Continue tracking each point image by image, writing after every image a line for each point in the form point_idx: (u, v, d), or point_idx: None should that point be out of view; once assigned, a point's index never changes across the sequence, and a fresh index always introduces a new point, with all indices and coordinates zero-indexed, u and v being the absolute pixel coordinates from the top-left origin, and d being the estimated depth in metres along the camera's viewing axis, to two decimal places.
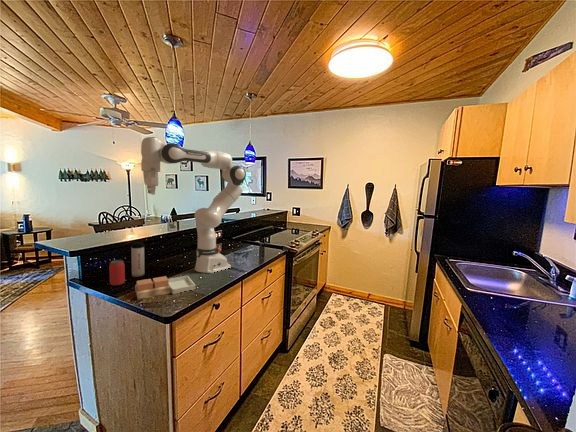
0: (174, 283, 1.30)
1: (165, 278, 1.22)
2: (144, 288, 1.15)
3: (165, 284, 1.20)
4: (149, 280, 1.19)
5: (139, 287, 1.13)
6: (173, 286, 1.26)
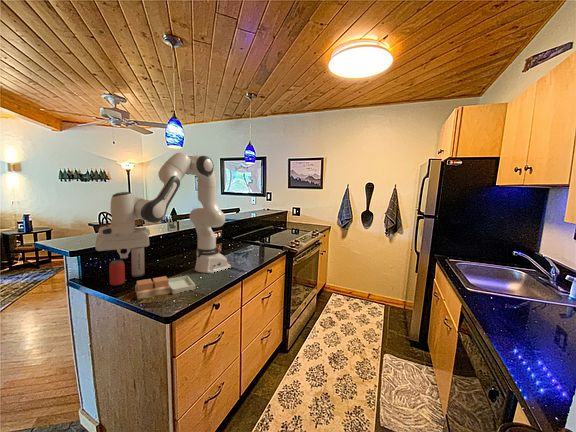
0: (174, 283, 1.30)
1: (165, 278, 1.22)
2: (144, 288, 1.15)
3: (165, 284, 1.20)
4: (149, 280, 1.19)
5: (139, 287, 1.13)
6: (173, 286, 1.26)
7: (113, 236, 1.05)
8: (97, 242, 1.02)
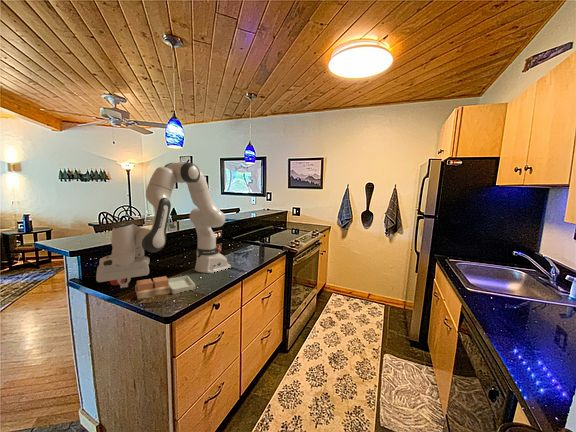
0: (174, 283, 1.30)
1: (165, 278, 1.22)
2: (144, 288, 1.15)
3: (165, 284, 1.20)
4: (149, 280, 1.19)
5: (139, 287, 1.13)
6: (173, 286, 1.26)
7: (114, 267, 1.07)
8: (98, 274, 1.04)
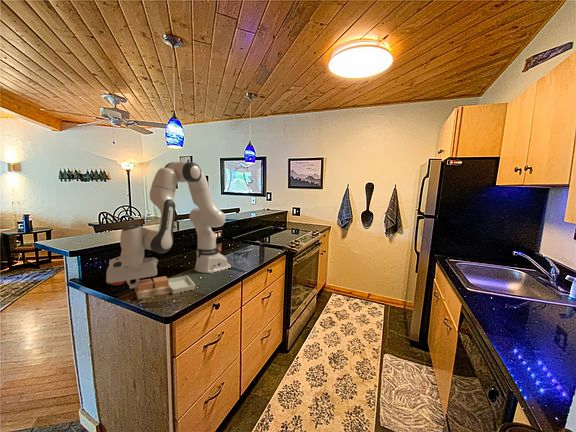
0: (174, 283, 1.30)
1: (165, 278, 1.22)
2: (144, 288, 1.15)
3: (165, 284, 1.20)
4: (149, 280, 1.19)
5: (139, 287, 1.13)
6: (173, 286, 1.26)
7: (123, 268, 1.09)
8: (108, 275, 1.06)
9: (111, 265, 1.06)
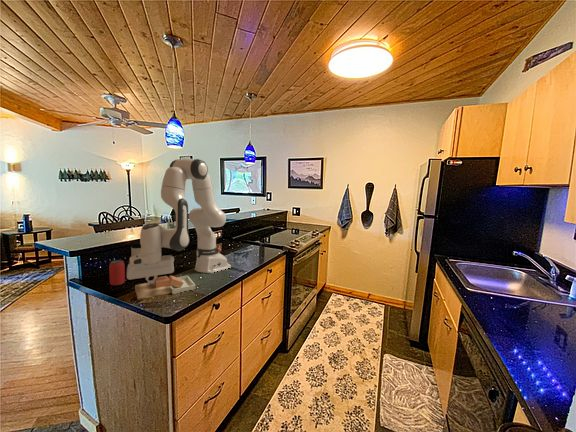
0: None
1: (180, 280, 1.27)
2: (161, 285, 1.19)
3: (178, 285, 1.24)
4: (166, 277, 1.23)
5: (157, 284, 1.18)
6: (173, 286, 1.26)
7: (142, 265, 1.14)
8: (128, 272, 1.11)
9: (132, 262, 1.10)
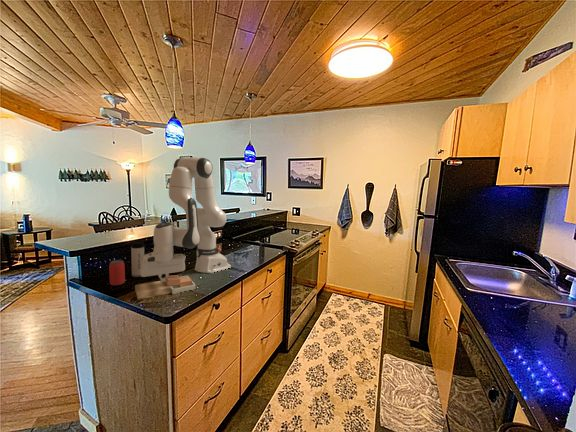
0: None
1: (189, 279, 1.29)
2: (172, 283, 1.22)
3: (189, 284, 1.27)
4: (177, 276, 1.27)
5: (168, 281, 1.21)
6: (173, 286, 1.26)
7: (156, 263, 1.17)
8: (142, 269, 1.14)
9: (146, 260, 1.14)
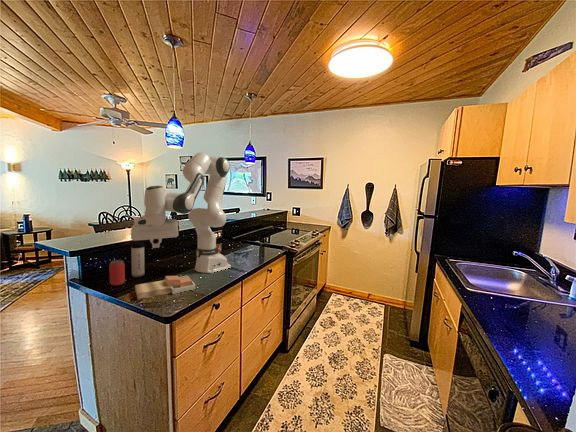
0: None
1: (188, 279, 1.29)
2: (172, 283, 1.22)
3: (189, 284, 1.27)
4: (177, 277, 1.26)
5: (168, 282, 1.21)
6: (173, 286, 1.26)
7: (147, 227, 1.13)
8: (133, 232, 1.10)
9: (136, 222, 1.09)
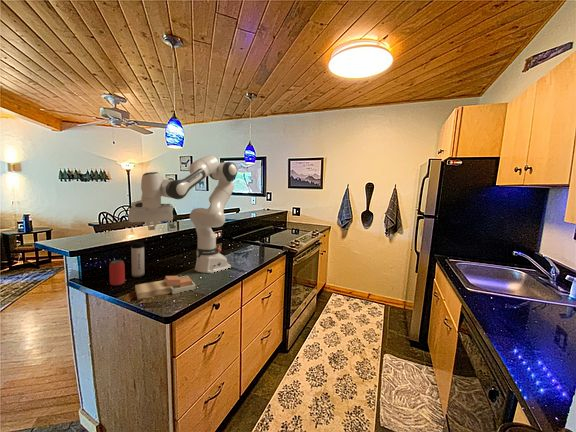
0: None
1: (188, 279, 1.29)
2: (172, 283, 1.22)
3: (189, 284, 1.27)
4: (177, 277, 1.26)
5: (168, 282, 1.21)
6: (173, 286, 1.26)
7: (143, 210, 1.21)
8: (130, 214, 1.18)
9: (133, 205, 1.18)
